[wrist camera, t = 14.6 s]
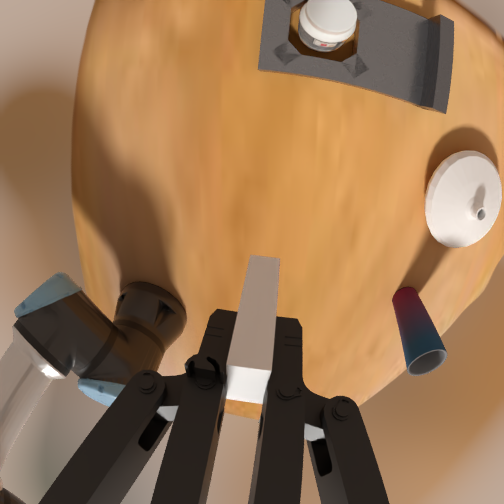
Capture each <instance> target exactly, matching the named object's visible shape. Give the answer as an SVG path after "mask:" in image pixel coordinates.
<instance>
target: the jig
mask: <svg viewBox="0 0 504 504" xmlns="http://www.w3.org/2000/svg"><path fill="white" fill-rule="evenodd" d="M349 1H350V2H351V3H352V4H353V5H354V7H355V9H356V12H357V20H356V28H355V33H354V44H353V54H352V56H351V57H349V58H348V59H346V60H344V61H343V62H338V61H333V60H328V59H323V58H318V57H312V56H306V55H301V54H300V53H299V52H298V50H297V49H296V48H295V47H294V46H293V45H292V44H291V43H290V42H289V41H288V38H289V29H290V19H291V13H293V12H294V11H296V10H298V9H300V8H301V7H303V6H304V5H305V4H306V3H307V2H308V0H265V8H264V17H263V26H262V36H261V45H260V55H259V64H258V70H259V71H264V72H275V73H283V74H291V75H298V76H305V77H311V78H316V79H322V80H327V81H332V82H337V83H341V84H346V85H350V86H354V87H358V88H362V89H365V90H369V91H373V92H376V93H380V94H383V95H386V96H389V97H392V98H395V99H398V100H401V101H404V102H407V103H410V104H413V105H415V106H418V107H421V108H423V109H427V110H431V111H436V112H440V113H444V114H446V111H447V105H448V99H449V92H450V84H451V75H452V64H453V48H454V21H452V20H450V19H448V18H446V17H444V16H443V15H441V14H440V15H438V16H435V17H432V18H430V19H426V18H424V17H422V16H420V15H417V14H415V13H413V12H410V11H408V10H405V9H403V8H400V7H398V6H395V5H392V4H389V3H386V2H383V1H380V0H349Z"/></svg>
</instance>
